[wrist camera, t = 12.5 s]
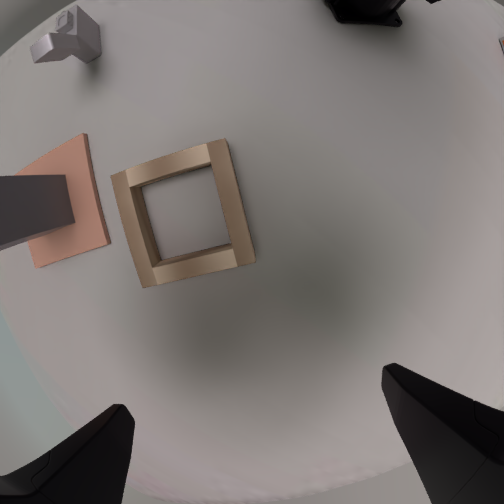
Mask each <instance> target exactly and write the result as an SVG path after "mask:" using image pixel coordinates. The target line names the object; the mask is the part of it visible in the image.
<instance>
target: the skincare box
mask: <svg viewBox="0 0 504 504" xmlns="http://www.w3.org/2000/svg"><path fill="white" fill-rule="evenodd" d="M499 40H500V42H501V45H502V48H503V51H504V37H503V38H500V39H499Z"/></svg>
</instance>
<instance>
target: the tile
mask: <svg viewBox="0 0 504 504" xmlns="http://www.w3.org/2000/svg"><path fill="white" fill-rule="evenodd" d="M16 175H65V176H66V181H67V187H68V192H69V197H70V201H71V206H72V210H73V214H74V218H75V222H76V223H73V224H71V225H68V226H66V227H63V228H61V229H59V230H56V231H54V232H51V233H49V234H47V235H44V236H41V237H38V238H35V239H32V240H29V241H28V245H29V249H30V252H31V255H32V259H33V262H34V265H35V268H39V267H42V266H45V265H47V264H50V263H53V262H56V261H59V260H62V259H65V258H68V257H71V256H74V255H76V254H79V253H83V252H86V251H89V250H92V249H95V248H98V247H101V246H104V245H107V244H110V243H111V241H110V238H109V234H108V231H107V227H106V224H105V220H104V216H103V212H102V208H101V204H100V200H99V196H98V192H97V187H96V183H95V178H94V173H93V168H92V163H91V157H90V151H89V145H88V139H87V134H84V133H82V134H80V135H78V136H76V137H75V138H73V139H71V140H69V141H67V142H65V143H64V144H62V145H60V146H59V147H57V148H55V149H53V150H52V151H50V152H48V153H47V154H45V155H44V156H42V157H40V158H39V159H37V160H36V161H34V162H33V163H31V164H30V165H28V166H27V167H25V168H24V169H22V170H21V171H20V172H18V173H17V174H15V175H14V176H16Z"/></svg>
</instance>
